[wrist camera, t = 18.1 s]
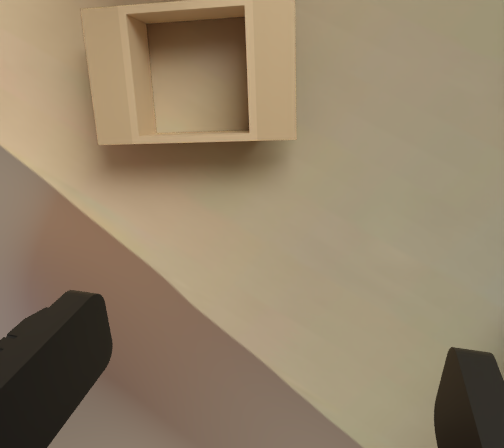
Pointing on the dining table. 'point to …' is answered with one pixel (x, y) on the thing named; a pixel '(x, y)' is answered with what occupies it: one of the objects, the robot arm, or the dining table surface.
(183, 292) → the dining table surface
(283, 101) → the light wood hollow frame
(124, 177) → the dining table surface
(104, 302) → the robot arm
